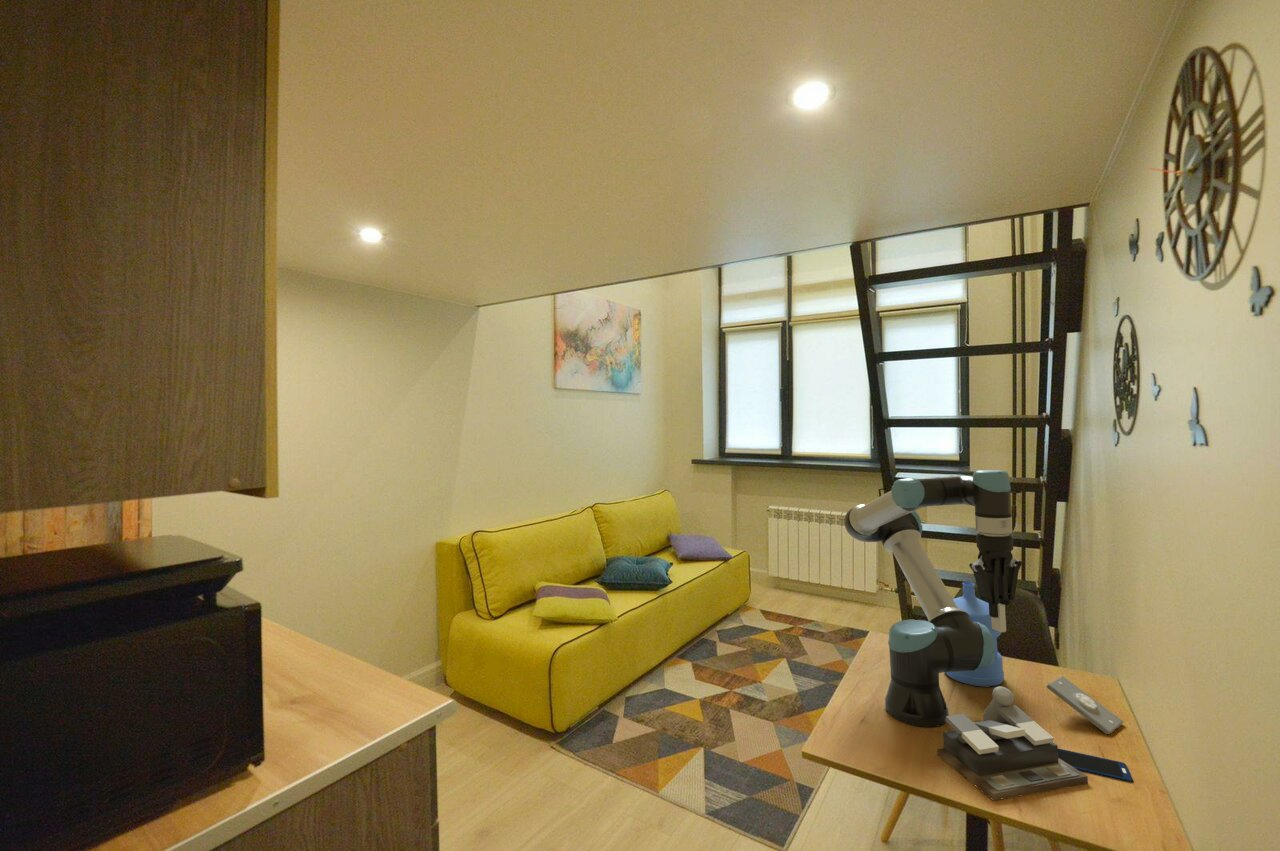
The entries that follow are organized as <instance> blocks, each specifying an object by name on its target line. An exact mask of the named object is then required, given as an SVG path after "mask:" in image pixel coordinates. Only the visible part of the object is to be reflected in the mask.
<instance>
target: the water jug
mask: <svg viewBox="0 0 1280 851" xmlns="http://www.w3.org/2000/svg"><path fill="white" fill-rule="evenodd" d="M975 584H976V583H973V582H965V581H964V582H962V587H963V588H962V596H958V597H956V598H952V599H953V600H954V602H955V604H956V606H957V607H958V609H960V610H963V611H966V612H967V613H968V615H969V616H970V618H971V620H972V621H973V622H978V623H981V624H983V625H985V626H986V627H987V628H988V630H989V631H990V633H991V635H992V637H993V640H994V645H995V656H994V660H993V662H992V664H991V665H990V666H989V667H987V668H983V669H977V670H975V671H972V670H968V671H956V672H944V673H945V674H946V675H947V676H948V677H950V678H951V679H953V680H955V681H957V682H959V683H963V684H966V685H970V686H974V687H987V688H988V687H997V686H999V685H1001V684H1002V683H1003V682H1004V680H1005V674H1004V673H1005V672H1004V668H1003V667H1004V666H1003V665H1004V663H1003V662H1004V661H1003V656H1002V655H1001V653H1000V652H999V651H998V640H997V639H998V637H999V636H1001V634H1002V632H999V631H997V630H994V629H992V621H991V616H990V615H989V604H988V602H986V601H983V600H981V599H980V598H978V597H976V593H975V592H976V590H975Z"/></svg>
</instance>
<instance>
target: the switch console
mask: <svg viewBox="0 0 1280 851" xmlns="http://www.w3.org/2000/svg"><path fill="white" fill-rule="evenodd" d="M1003 724H1006V725H1010V726H1012V725H1011V724H1010V723H1009V722H1005V723H1003ZM983 732H984V731H983ZM984 733H985V734H986V735H987V732H984ZM942 737H943V747H942V748H941V747H940V748H937V757H939V756H940V757H941V758H942V759H941V758H940V757H939V758H940V759H941V760H943V761H944V762H945V763H946V762H947V763H946V764H947V765H949V766H950V767H951V766H952V767H951V768H953V769H954V770H955V771H956V770H957V771H958V772H957V771H956V772H957V773H959V774H960V775H961V774H962V775H963V776H962V775H961V776H962V777H964V778H965V777H966V778H967V779H968V781H969V780H970V781H971V782H972V783H973V784H974V785H973V784H972V783H971V782H970V781H969V782H970V783H971V784H972V785H973V786H975V785H976V786H977V787H978V788H979V789H978V788H977V787H976V786H975V787H976V788H977V789H978V790H979V791H981V790H982V791H983V792H984V793H983V792H982V791H981V792H982V793H983V794H985V793H986V794H987V795H988V796H989V797H990V798H989V797H988V796H987V795H986V794H985V795H986V796H987V797H988V798H989V799H991V798H992V799H993V800H996V801H999V800H998V799H1001V798H1007V799H1009V798H1008V797H1012V798H1016V797H1015V796H1018V797H1021V796H1020V795H1023V796H1027V795H1026V794H1028V795H1032V794H1038V793H1043V792H1049V791H1053V790H1059V789H1064V788H1069V787H1075V786H1080V785H1085V784H1088V783H1089V777H1088V775H1087V774H1085V773H1084V772H1082V771H1079V770H1077V769H1075V768H1074V767H1072V766H1071V765H1069V764H1067V763H1066V762H1064V761H1063V760H1061V759H1059V758H1058V748H1059V747H1058V744H1056V743H1055V742H1054V741H1053V742H1052V743H1046V744H1041V745H1035V746H1034V745H1033V744H1032V743H1031V742H1030V741H1029V740H1028V739H1027V738H1025V737H1024V736H1020V737H1014V738H1008V739H1007V738H1004V739H998V740H993V741H994V742H995V743H996V744H997V745H998V746H999V750H998V751H997V752H991V753H985V754H978V753H977V752H976V751H975V750H974V749H973V748H972V747H971V746H970V745H969V744H968V743H965V744H962V743H961V742H960V741H959V738H958V733H957V732H956V731H955V730H950V731H943V733H942ZM966 778H965V779H966ZM967 779H966V780H967ZM992 799H991V800H992ZM993 800H992V801H993Z"/></svg>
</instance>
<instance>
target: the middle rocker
mask: <svg viewBox="0 0 1280 851" xmlns="http://www.w3.org/2000/svg"><path fill="white" fill-rule="evenodd" d="M973 723H975V724H976V725H977V726H978V727H979V728H980V729H981V730H982V731H984V732H987V736H988V737H989V738H990V739H992V740H998V739H1004V738H1007V739H1008V738H1014V737H1020V736H1026V733H1025V729H1021V728H1017V727H1014V726H1010V725H1006V724H1003V723H999V722H996V721H992V720H986V721H984V720H983V721H975V722H974V721H973Z"/></svg>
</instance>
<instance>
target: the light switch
mask: <svg viewBox="0 0 1280 851" xmlns="http://www.w3.org/2000/svg"><path fill="white" fill-rule="evenodd" d="M1046 688H1047V690H1049V691H1050V692H1052V693H1053V694H1055V695H1056V696H1057V697H1058V698H1059V699H1061V700H1062V701H1063V702H1065V704H1067V705H1068V706H1070V707H1071V708H1072V709H1073V710H1074V711H1076V712H1077V713H1079V714H1080V715H1081V716H1083V718H1085V719H1087V720H1088V721H1089V722H1090V723H1092V724H1093V725H1094V726H1095V727H1096V728H1097V729H1099V730H1100V731H1102V732H1103V733H1104V734H1105V735H1107V734H1110V733H1111V734H1112V733H1113V732H1114V730H1115V729H1116V728H1117V729H1118V728H1120V725H1121V724H1122V723H1124V721H1123V720H1122V719H1121V718H1120V717H1118V716H1117V715H1115V713H1113V712H1112V711H1110V710H1109V709H1107V708H1106V707H1105V706H1104V705H1103V704H1101V703H1099V702H1098V701H1097V700H1095V699H1094V698H1093V697H1091V696H1090V694H1088V693H1087V692H1085V691H1083V689H1081V688H1080V687H1078V686H1077V685H1075V683H1073V682H1072V681H1071V680H1069V679H1067V678H1066V677H1065V676H1064V675H1061V676H1059V677H1058V678H1056V679H1055V680H1053V681H1051V682H1050V683H1048V684H1047V685H1046ZM1122 725H1123V724H1122ZM1122 725H1121V726H1122ZM1117 729H1116V730H1117ZM1111 734H1110V735H1111Z"/></svg>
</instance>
